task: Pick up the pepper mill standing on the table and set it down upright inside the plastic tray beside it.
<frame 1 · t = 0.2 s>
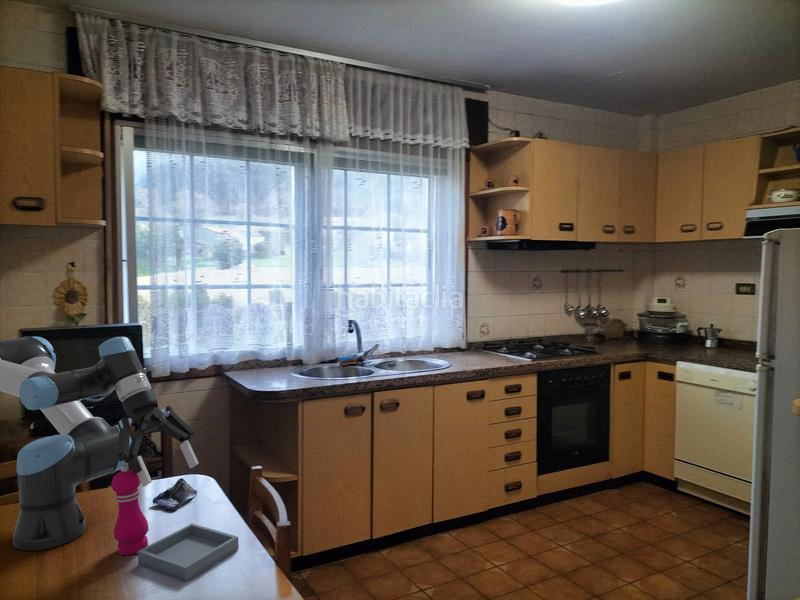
hand: (172, 475, 137), 16 cm above the table, tool tilted 35°, fingers open, 13 cm apart
snack package: (177, 504, 159), on the table
pepper mill: (133, 549, 134), on the table, touching gripper
tray: (189, 556, 130), on the table
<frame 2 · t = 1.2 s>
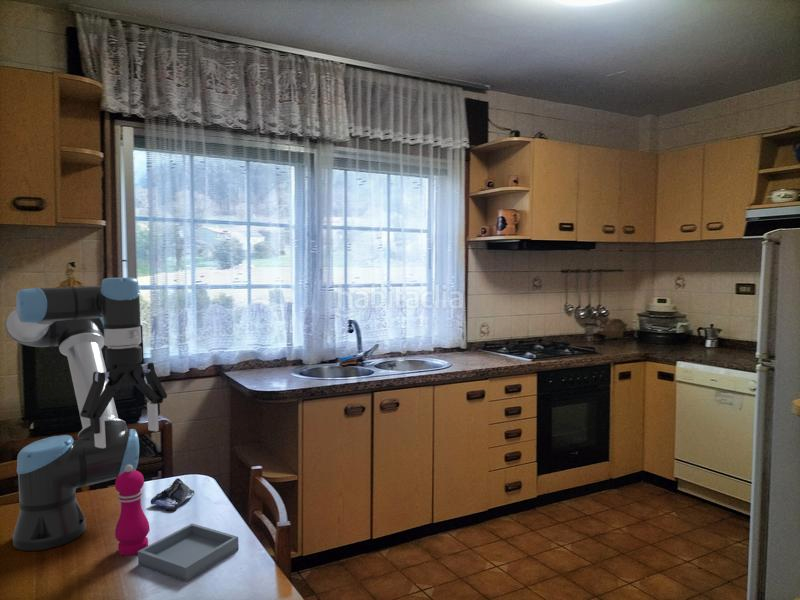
hand: (128, 438, 132), 26 cm above the table, tool pointing down, fingers open, 13 cm apart
pepper mill: (133, 549, 134), on the table
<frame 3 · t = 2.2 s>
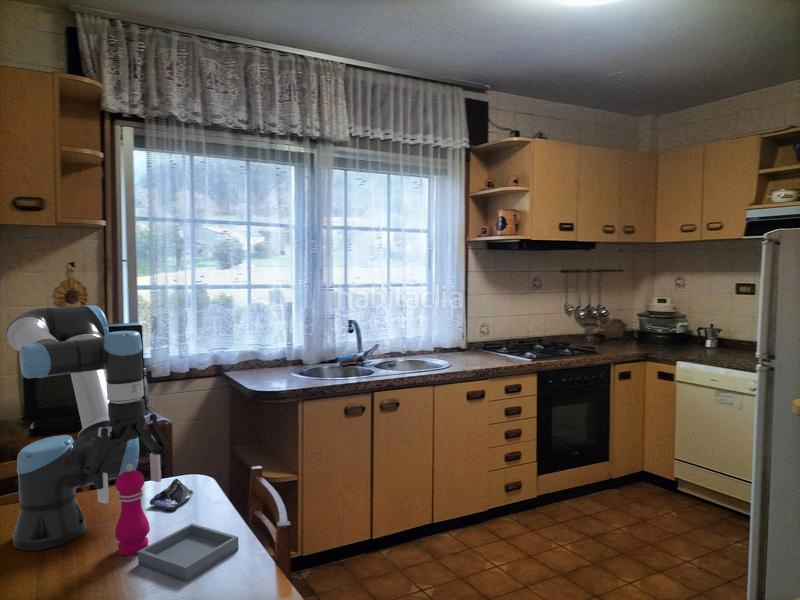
hand: (130, 491, 132), 14 cm above the table, tool pointing down, fingers open, 13 cm apart
nothing on the table moved.
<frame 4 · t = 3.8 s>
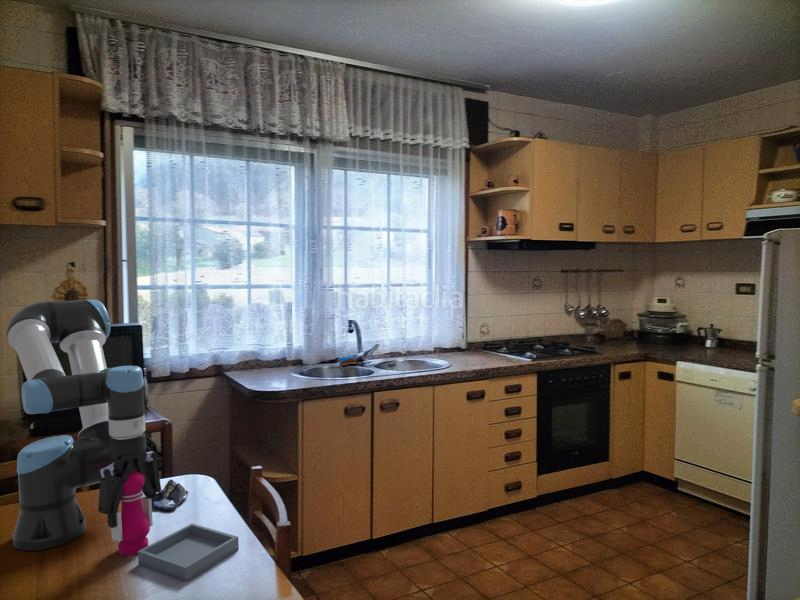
hand: (132, 531, 133), 4 cm above the table, tool pointing down, fingers closed on pepper mill, 7 cm apart
pepper mill: (133, 549, 134), on the table, touching gripper
when the fingers open (7 cm above the table, at t = 10.1 s): pepper mill drops 2 cm, resting on tray.
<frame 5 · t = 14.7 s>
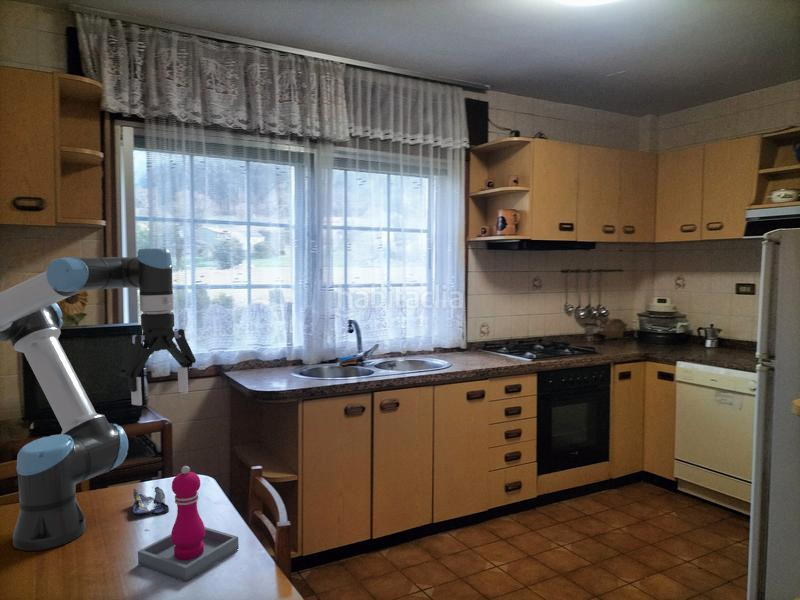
hand: (161, 398, 142), 33 cm above the table, tool pointing down, fingers open, 13 cm apart
snack package: (151, 510, 156), on the table
pepper mill: (189, 554, 130), point 1 cm above the table, touching tray
at the end: pepper mill inside the target area on the tray (0.1 cm from its centre), point 0.6 cm above the tray's base; pepper mill tilted 0°; the gripper is holding nothing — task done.
